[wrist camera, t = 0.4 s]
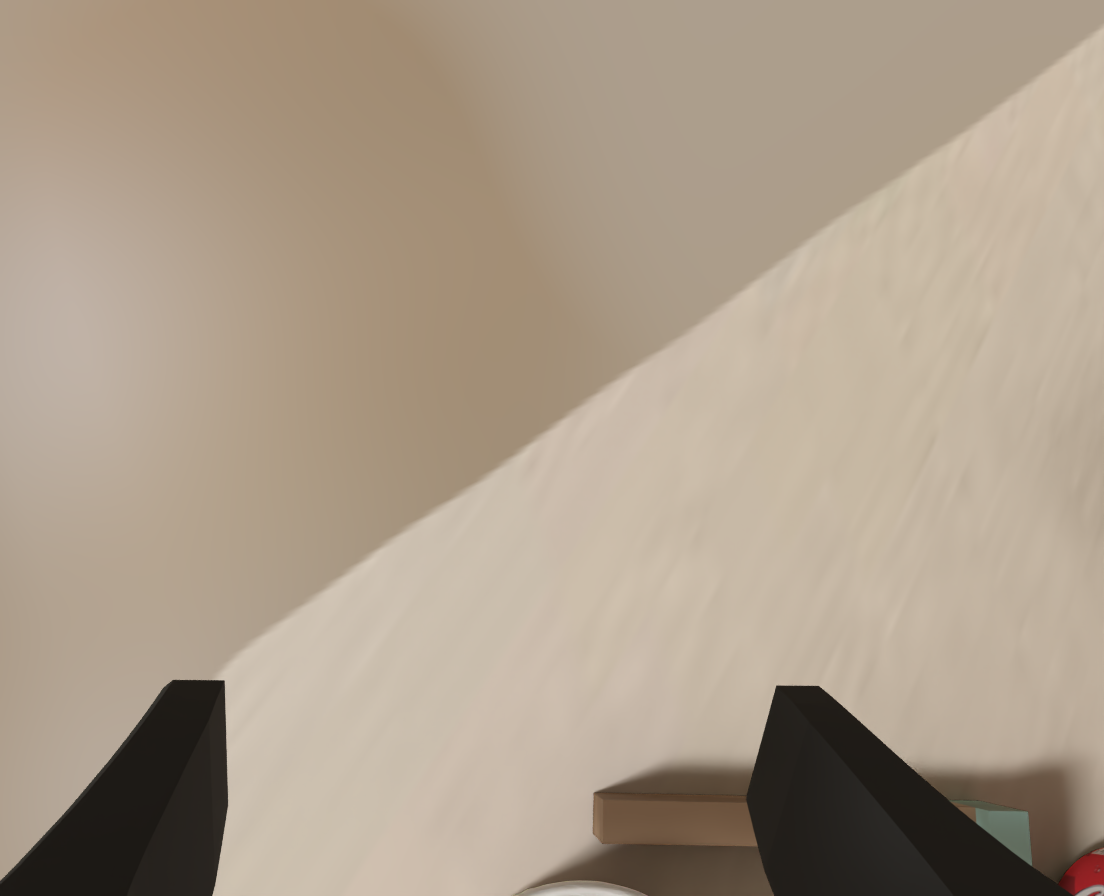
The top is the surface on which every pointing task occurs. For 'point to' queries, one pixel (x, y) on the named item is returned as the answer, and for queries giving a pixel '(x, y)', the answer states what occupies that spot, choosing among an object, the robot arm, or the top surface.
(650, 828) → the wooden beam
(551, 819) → the top surface
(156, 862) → the robot arm
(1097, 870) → the soda can
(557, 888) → the ramekin
